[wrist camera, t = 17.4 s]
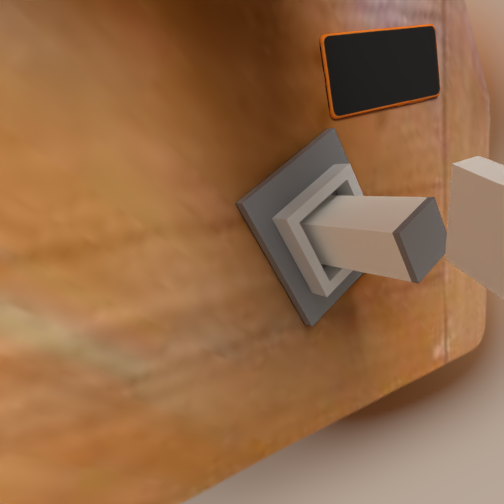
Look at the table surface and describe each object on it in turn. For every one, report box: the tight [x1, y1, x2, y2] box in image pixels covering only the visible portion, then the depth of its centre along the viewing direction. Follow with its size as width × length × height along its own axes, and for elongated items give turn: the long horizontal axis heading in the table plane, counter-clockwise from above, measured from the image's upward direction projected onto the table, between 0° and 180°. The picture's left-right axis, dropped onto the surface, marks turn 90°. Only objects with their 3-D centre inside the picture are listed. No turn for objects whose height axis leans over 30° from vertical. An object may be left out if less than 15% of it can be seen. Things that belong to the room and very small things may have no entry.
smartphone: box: [319, 24, 440, 119], centre depth 46 cm, size 8×17×1 cm, turn 104°
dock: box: [236, 128, 364, 327], centre depth 42 cm, size 14×12×3 cm
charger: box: [299, 195, 447, 283], centre depth 38 cm, size 4×4×11 cm
